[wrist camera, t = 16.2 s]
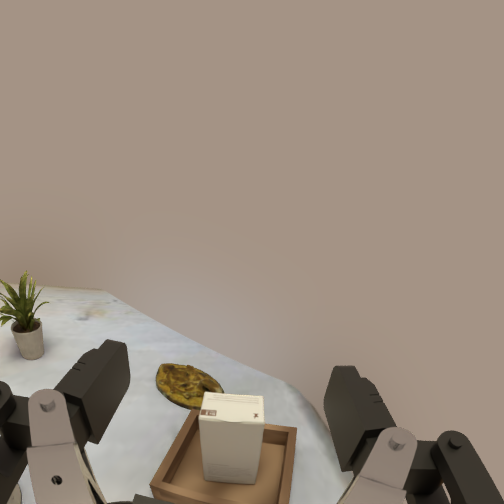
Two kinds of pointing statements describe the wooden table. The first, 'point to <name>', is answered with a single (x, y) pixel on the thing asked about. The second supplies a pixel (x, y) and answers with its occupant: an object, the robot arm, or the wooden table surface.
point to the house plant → (24, 319)
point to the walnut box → (220, 493)
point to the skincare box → (231, 437)
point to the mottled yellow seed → (185, 385)
